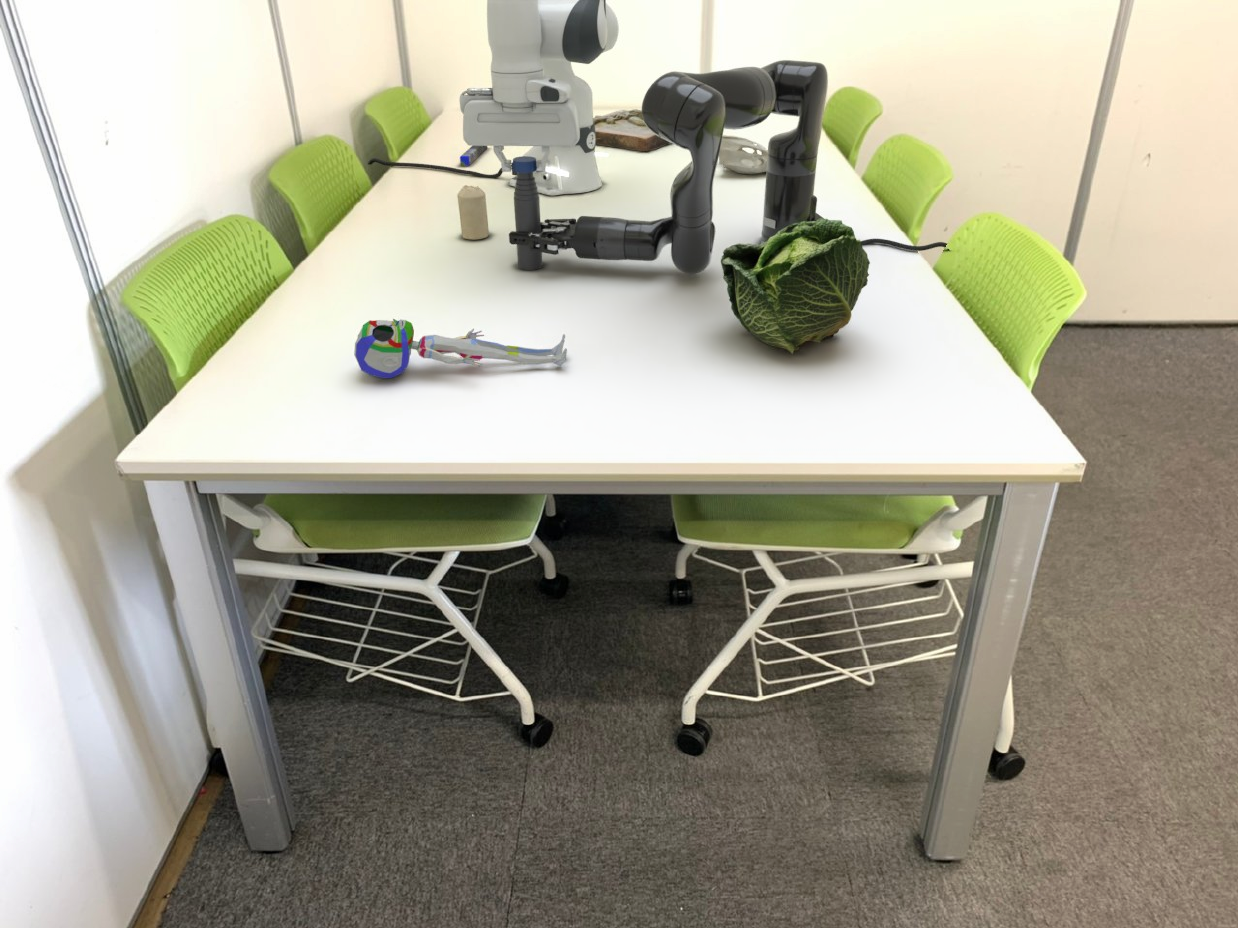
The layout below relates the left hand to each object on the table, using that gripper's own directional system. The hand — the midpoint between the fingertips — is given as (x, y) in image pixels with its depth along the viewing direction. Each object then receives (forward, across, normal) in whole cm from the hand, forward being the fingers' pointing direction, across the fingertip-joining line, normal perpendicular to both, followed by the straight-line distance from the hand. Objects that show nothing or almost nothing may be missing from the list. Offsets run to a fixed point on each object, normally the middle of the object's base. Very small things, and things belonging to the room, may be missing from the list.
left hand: (524, 171), depth 159 cm
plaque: (+17, +11, +109) cm, 111 cm away
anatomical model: (+17, +44, +70) cm, 84 cm away
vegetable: (+18, +46, -31) cm, 58 cm away
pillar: (+17, -30, +83) cm, 90 cm away
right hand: (+11, -3, 0) cm, 12 cm away
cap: (-2, 0, 0) cm, 2 cm away
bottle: (+18, 0, 0) cm, 18 cm away
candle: (+18, -14, +17) cm, 28 cm away
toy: (+18, -2, -44) cm, 47 cm away
